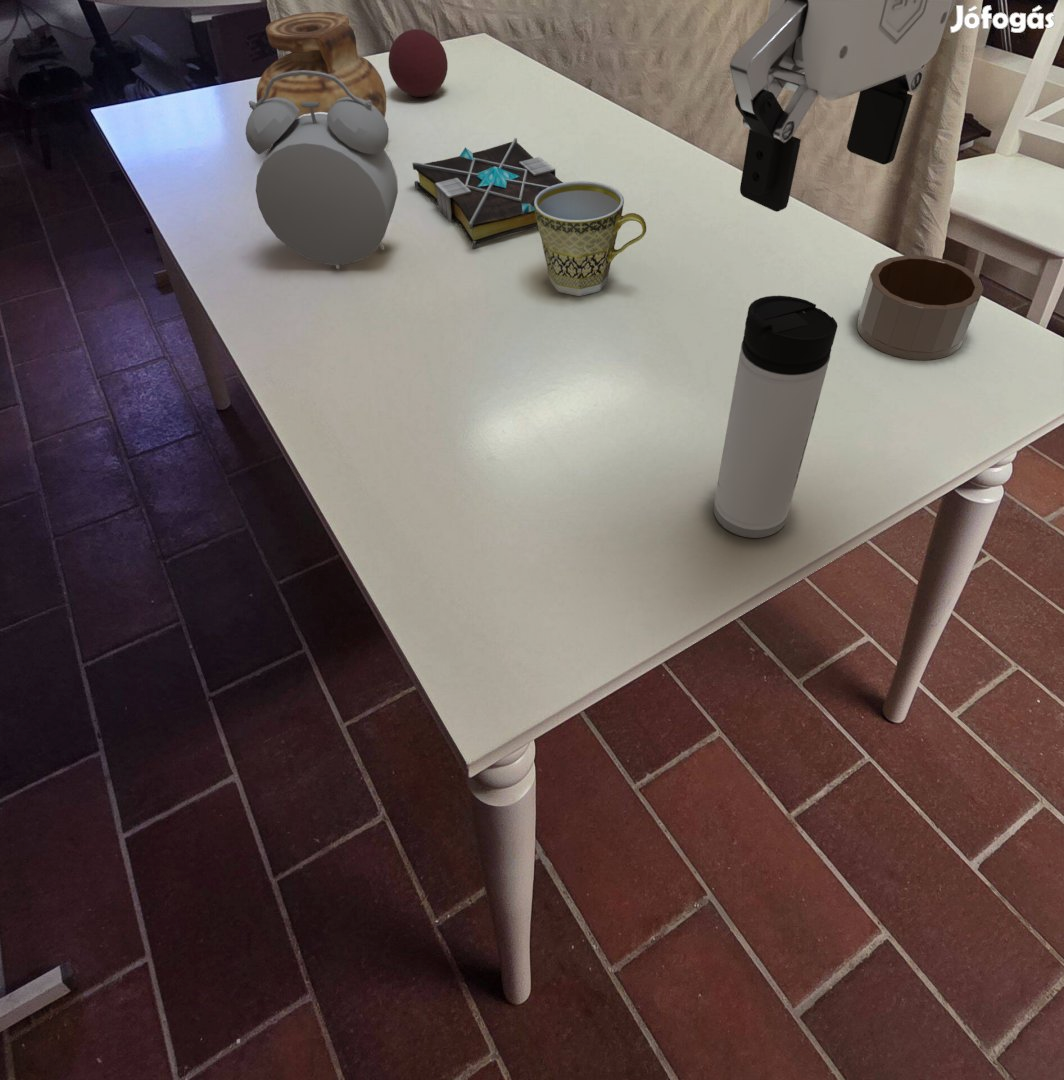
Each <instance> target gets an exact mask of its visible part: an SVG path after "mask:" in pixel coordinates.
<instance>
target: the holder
mask: <svg viewBox="0 0 1064 1080" xmlns="http://www.w3.org/2000/svg"><path fill="white" fill-rule="evenodd" d="M984 289H985V288H984V286H983V284H982V282H981V280H980V277H978V276H977V275H976V274H974V272H972V271H971V270H970V269H969V268H967V267H965V266H963V265H961V264H958V263H957V262H956V263H955V262H954V261H951V260H948V259H945V258H939V257H936V256H930V255H919V254H917V255H916V254H905V255H898V256H893V257H889V258H888V257H887V258H886V259H884V260H882V261H880V262H879V263H877V264H875V266H874V267H873V269H872V270H871V272H870V274H869V277H868V281H867V284H866V287H865V291H864V294H863V299H862V301H861V306H860V309H859V313H858V319H857V323H856V327H857V331H858V333H859V335H860V337H861V338H862V339H863V340H864V342H866V343H867V344H868V345H870V346H871V347H873V348H874V349H876V350H877V351H880V352H882V353H885V354H887V355H889V356H892V357H896V358H901V359H905V360H911V361H912V360H913V361H933V360H938V359H942V358H945V357H948V356H950V355H953V354H954V353H955V352H957V351H958V349H959V348H960V347H961V346H962V344H963V341H964V339H965V336H966V334H967V332H968V329H969V327H970V324H971V322H972V320H973V317H974V315H975V312H976V309H977V307H978V305H979V302H980V300H981V297H982V294H983V292H984V291H985V290H984Z"/></svg>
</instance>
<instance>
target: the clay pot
mask: <svg viewBox="0 0 1064 1080" xmlns="http://www.w3.org/2000/svg"><path fill="white" fill-rule="evenodd" d="M354 30H355V29H353V28H352V26H350V19H349V17H348V16H346V15H345V14H342V13H340V12H335V11H315V12H302V13H295V14H292V15H289V16H283V17H281V18H278V19H276V20H273V21H271V22H269V23H268V24H267V25H266V27H265V33H266V37H267V40H268V45H269V46H271V47H272V48H274V49H276V50H278V51H281V52H284V53H286V52H290V53H286V54H284V55H282V56H280V57H279V59H277V60H275V61H274V62H273V63H271V64H270V65H269V66H268V67H267V68H266V69H265V70H264V71H263V73H262V74H261V76H260V78H259V80H258V83H257V85H256V86H257V87H256V103H257V102H258V101H259V100H260V99H262V98H263V96H264V95H265V93H266V88H267V85H268V84H269V82H270V81H271V79H272V78H273V77H274V76H277V75H279V74H281V73H286V72H290V71H299V70H307V71H316V72H322V73H326V74H329V75H332V76H335V77H336V78H338V79H339V80H340V81H341V82H342V83H344V84H345V86H346V87H347V89H348V90H349V91H350V92H351V93H352V94H353V95H354V96H355V97H357V98H361V99H364V100H366V101H368V100H371V102H372V105H374V106H375V107H376V108H377V109H378V110H379V111H380V112H381V114H382V115H383V117H384V119H385V120H386V113H387V92H386V88H385V83H384V81H383V78H382V76H381V74H380V73H379V71H378V70H377V68H376V67H375V66H374V65H373V64H372V63H371V62H370V61H369V60H368V59H367V58H365V57H364V56H362V55H361V54H358V51H357V49H358V48H357V38H356V35H355V31H354ZM275 97H280V98H285V99H287V100H289V101H291V102H292V103H294V104H295V105H296V107H297V108H298V109H299V110H300V111H299V114H298V115H297V117H296V118H298V117H300V116H302V115H304V114H310V109H309V108H303V107H302V105H301V103H302V102H319V108H313V110H314V113H317V112H325V113H328V111H329V109H330V107H331V106H332V105H333V104H334V103H335V102H336V101H337V100H338V99H340V98H343V97H349V96H348V95H347V94H346V92H345V91H344V90H343V88H342V87H340V86H339V85H338V84H337V83H336V82H334V81H333V80H330V79H327V78H324V77H317V76H309V75H298V76H291V77H285V78H281V79H279V80H277V81H275V82H274V83H273V85H272V86H271V88H270V92H269V95H268V97H267V98H266V100H267V99H270V98H275ZM296 118H295V119H296Z"/></svg>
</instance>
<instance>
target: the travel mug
mask: <svg viewBox="0 0 1064 1080" xmlns="http://www.w3.org/2000/svg"><path fill="white" fill-rule="evenodd" d="M744 325H745V326H744V332H743V338H742V341H741V343H740V344H741V345H740V352H739V355H738V361H737V368H736V373H735V380H734V385H733V391H732V396H731V403H730V408H729V414H728V421H727V426H726V432H725V437H724V443H723V448H722V455H721V462H720V467H719V472H718V477H717V484H716V489H715V494H714V500H713V501H714V502H713V506H712V507H713V508H712V509H713V510H712V511H713V514H714V517H715V519H716V520H717V522H718V523H719V524H720V526H722V528H724V529H725V530H727V531H728V532H730V533H732V534H734V535H736V536H740V537H743V538H748V539H749V538H751V539H759V538H765V537H769V536H773V535H774V534H776V533H777V532H780V531H781V530H782V528H783V527H784V526H785V524H786V523H787V520H788V516H789V513H790V508H791V505H792V501H793V497H794V493H795V490H796V486H797V482H798V479H799V476H800V475H799V474H800V472H801V468H802V463H803V460H804V457H805V454H806V453H805V452H806V449H807V446H808V441H809V438H810V434H811V430H812V428H813V427H812V426H813V423H814V419H815V415H816V412H817V408H818V406H819V405H818V404H819V400H820V397H821V393H822V389H823V386H824V382H825V379H826V375H827V370H828V367H829V366H828V365H829V362H830V359H831V354H832V348H833V345H834V341H835V338H836V334H837V330H838V322H837V321H836V319H835V318H834V317H833V316H830V315H829V314H828V313H827V312H825V311H824V310H823V309H821V308H818V307H817V304H816V303H814V302H811V301H810V300H807V299H804V298H800V297H794V296H790V295H789V296H788V295H768V296H763V297H759V298H756V299H755V300H753V302H751V303H750V305H749V306H748V308H747V314H746V318H745V324H744Z"/></svg>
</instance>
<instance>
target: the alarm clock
mask: <svg viewBox="0 0 1064 1080" xmlns="http://www.w3.org/2000/svg"><path fill="white" fill-rule="evenodd" d="M298 75H309V76H317V77H324V78H327V79H330V80H333V81H334V82H336V83H337V84H338V85H339V86H340V87H342V88H343V90H344V91H345V92H346V94H347V95H348V96H349V97H343V98H340V99H338V100H337V101H336V102H335V103H334V104H333V105H332V106H331V107H330V109H329V111H328V113H325V112H317V113H314V110H313V108H319V102H302V103H301V105H302V107H303V108H309V109H310V114H304V115H302V116H300V117H298V118H296V117H297V115H298V114H299V111H300V110H299V109H298V108H297V107H296V105H295V104H294V103H292V102H291V101H289V100H287V99H285V98H280V97H275V98H270V99H267V100H266V98H267V97H268V95H269V92H270V88H271V86H272V85H273V83H274V82H275V81H277V80H279V79H281V78H285V77H291V76H298ZM248 105H249V107H250V109H251V110H252V111H251V112H250V114H249V117H248V118H247V121H246V125H245V126H246V127H245V139H246V141H247V143H248V145H249V146H250V148H251V149H252V151H254V152H255V154H256V155H261V154H263V153H264V152H266V151H267V150H268V149H269V151H268V153H267V154H266V156H265V158H264V159H263V161H262V164H261V165H260V168H259V171H258V172H257V174H256V184H255V194H256V195H255V196H256V201H257V206H258V209H259V211H260V214H261V215H262V218H263V220H264V222H265V224H266V225H267V227H269V229H270V230H271V232H272V233H273V234H274V236H275V237H276V238H277V239H278V240H279V241H280V242H282V243H283V244H284V245H285V246H286V247H287V248H288V249H289V250H291V251H293V252H294V253H297V254H298V255H300V256H302V257H303V258H305V259H308V260H311V261H314V262H317V263H318V264H319V263H320V264H324V265H325V264H327V265H333V266H335V268H336V269H337V270H338V269H340V268H341V265H350V264H354V263H356V262H359V261H361V260H363V259H366V258H367V257H368V256H370V255H371V254H372V253H374V252H375V251H376V250H377V249H378V247H379V249H381V250H382V251H384V250H385V249H386V248H385V245H384V244H383V242H382V241H383V239H384V238H385V235H386V232H387V229H388V226H389V223H390V221H391V217H392V214H393V212H394V209H395V206H396V202H397V197H398V193H399V183H398V174H397V171H396V167H395V164H394V162H393V159H392V157H391V155H390V154H389V152H388V150H387V149H386V147H387V144H388V143H389V142H388V141H389V125H388V122H387V121H386V118H385V119H384V117H383V115H382V114H381V112H380V111H379V110H378V109H377V108H376V107H375V106H374V105H372V102H371V100H368V101H366V100H364V99H361V98H357V97H355V96H354V95H353V94H352V93H351V92H350V91H349V90H348V89H347V87H346V86H345V84H344V83H342V82H341V81H340V80H339V79H338V78H336V77H335V76H332V75H329V74H326V73H322V72H316V71H307V70H299V71H290V72H286V73H281V74H279V75H277V76H274V77H273V78H272V79H271V81H270V82H269V84H268V85H267V88H266V93H265V95H264V96H263V98H262V99H260V100H259V101H258V102H257V101H256V102H255V101H252V100H249V101H248ZM295 118H296V119H295Z"/></svg>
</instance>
